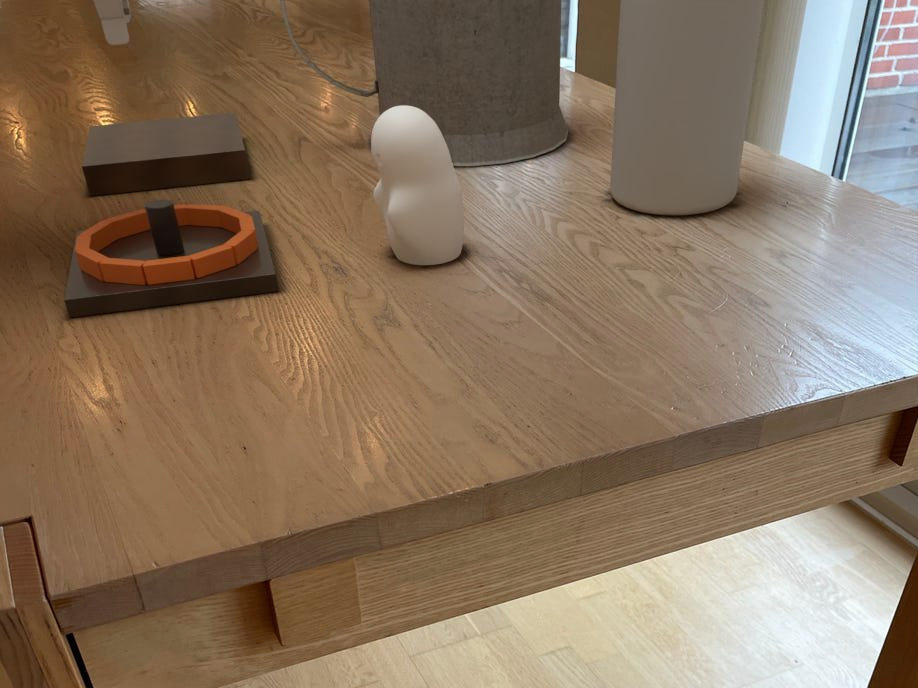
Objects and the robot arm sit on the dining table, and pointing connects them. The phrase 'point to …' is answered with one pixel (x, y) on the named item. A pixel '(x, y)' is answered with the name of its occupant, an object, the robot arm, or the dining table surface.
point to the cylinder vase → (682, 102)
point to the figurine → (417, 187)
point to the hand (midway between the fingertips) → (120, 32)
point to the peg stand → (170, 242)
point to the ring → (167, 267)
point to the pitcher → (470, 72)
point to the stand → (164, 154)
